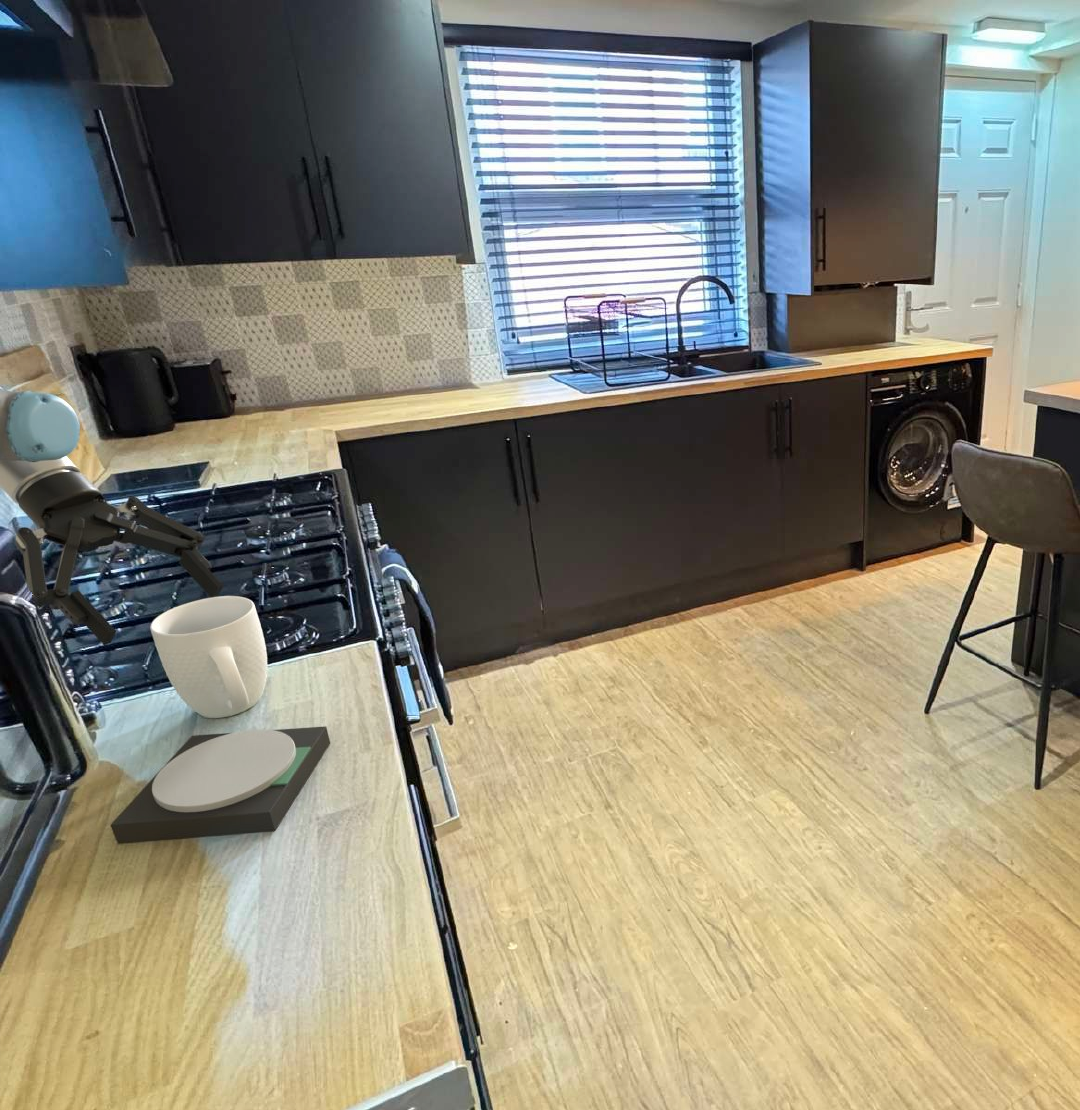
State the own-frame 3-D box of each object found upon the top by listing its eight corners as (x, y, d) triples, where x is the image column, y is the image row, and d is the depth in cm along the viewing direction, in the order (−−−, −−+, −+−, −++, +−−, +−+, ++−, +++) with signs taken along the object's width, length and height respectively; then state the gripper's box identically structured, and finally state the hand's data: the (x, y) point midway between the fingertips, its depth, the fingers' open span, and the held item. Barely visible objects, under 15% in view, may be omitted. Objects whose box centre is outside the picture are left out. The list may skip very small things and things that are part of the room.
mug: (299, 716, 98) (274, 624, 93) (197, 754, 91) (165, 656, 86) (265, 673, 108) (242, 587, 103) (171, 704, 101) (141, 614, 96)
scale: (117, 843, 78) (107, 818, 76) (197, 752, 91) (190, 729, 90) (275, 831, 79) (267, 805, 78) (330, 743, 93) (324, 720, 92)
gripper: (-72, 500, 85) (63, 644, 85) (158, 445, 106) (265, 561, 107) (-80, 539, 89) (50, 677, 89) (144, 479, 110) (247, 590, 111)
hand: (167, 614), depth 98 cm, fingers open, 13 cm apart
